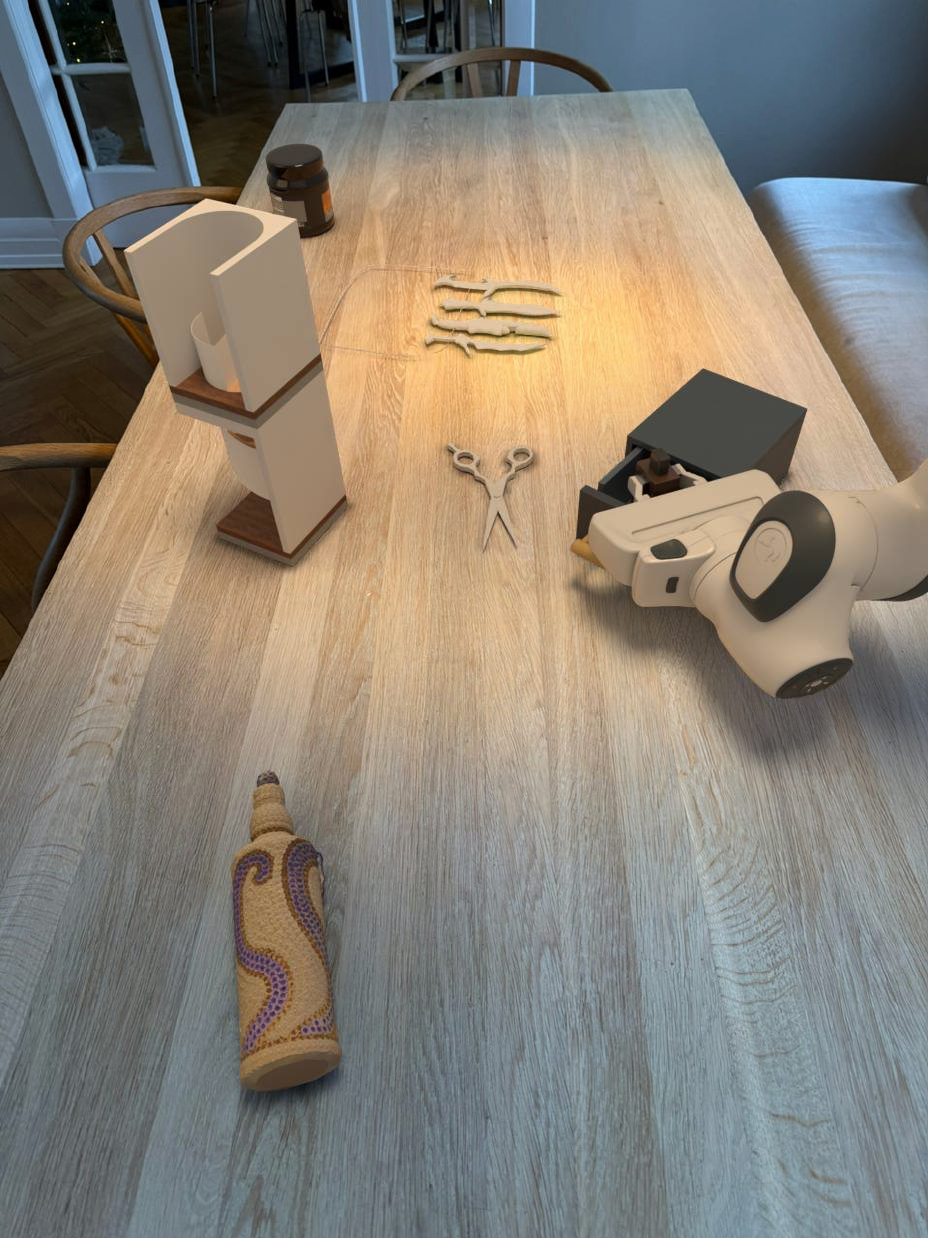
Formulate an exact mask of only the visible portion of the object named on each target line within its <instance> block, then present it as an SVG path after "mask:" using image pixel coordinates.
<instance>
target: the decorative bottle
mask: <svg viewBox="0 0 928 1238" xmlns="http://www.w3.org/2000/svg"><path fill="white" fill-rule="evenodd" d="M280 783H281V782H280V779H279V777H278V775H277V774H276V773H275V771H273V770H268V769H267V770H266V771H263V773H261V774H259V775H258V776H257V779H256V788H255V789H254V791H253V794H252V807H253V811H252V814H251V817H250V820H249V821H250V822H249V825H248V829H249V830H248V831H249V832H248V833H249V839H250V842H251V843H248V844H246V845H244V846H243V847H242V848H240V849H238V851H236V853H235V854H234V857H233V859H232V862H231V866H230V875H231V886H232V891H231V896H232V897H231V898H232V910H233V912H232V913H233V933H234V939H235V941H234V950H235V968H236V989H237V1001H238V1002H237V1003H238V1023H239V1024H238V1025H239V1026H238V1031H239V1050H240V1053H239V1059H240V1066H239V1070H238V1074H239V1075H238V1076H239V1080H240V1081H239V1084H240V1085H241V1086H243V1087H244V1088H246V1089H249V1090H252V1091H256V1092H258V1091H260V1092H271V1091H282V1090H289V1089H291V1088H293V1087H297V1086H300V1085H305V1084H307V1083H311V1082H314V1081H316V1080H318V1079H319V1078H322V1077H323V1076H325V1075H327V1074H329V1073H330V1072H332V1071H333V1070H335V1069H337V1067H338V1066H339V1065H340V1063H341V1061H342V1053H343V1051H342V1048H341V1045H340V1042H339V1039H340V1036H339V1029H338V1026H337V1023H336V1013H335V999H334V993H333V992H334V991H333V987H332V979H331V974H330V973H331V972H330V965H329V955H328V948H327V942H328V941H327V938H326V936H327V933H326V925H325V920H324V919H325V918H324V917H325V913H324V906H323V900H324V894H325V890H326V889H325V882H326V875H325V872H324V868H323V867H324V864H323V863H324V856H323V855H322V852H320V851H317V850H316V849H315V847H314V844H313V843H312V842H311V841H310V840H308V839H306V838H303V837H300V836H297V835H295V831H294V822H293V818H292V817H291V814H290V812H289V811H288V809H287V808H286V807H287V806H286V796H285V790H284V788H283V787H282V786H281V785H280ZM318 858H319V859H320V860H319V861H318ZM319 865H320V868H319Z"/></svg>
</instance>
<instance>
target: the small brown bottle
mask: <svg viewBox="0 0 928 1238" xmlns="http://www.w3.org/2000/svg"><path fill="white" fill-rule="evenodd" d="M670 460H671V458H670V457H669V456H668V454H667V453H666V452H665V451H664V450H663V448H662V447H661V448H657V449H653V450H652V451H651V457H650V458H649V459H645V460H641V461H638V462H637V466H636V472H635V475H639V474H643V475H644V478H646V479H647V480H648V482H649V485H648V488H647V490H648V491H647V495H648V496H649V497H650V498H653V497H657V496H660V495H664V494H667V493H671V492H675V491H678V486H679V481H680V476H679V475H678V474H677V473H676V471H675V470H674V469H673V468H672V467H671V465H670ZM631 503H634V497H633V495H632V498H631Z"/></svg>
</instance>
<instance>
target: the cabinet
mask: <svg viewBox="0 0 928 1238" xmlns="http://www.w3.org/2000/svg"><path fill="white" fill-rule="evenodd" d="M807 413H808V407H805V406H802V405H800V404H797V403H794V402H791V401H789V400H787V399H784V398H782V397H779V396H777V395H774V394H771V393H768V392H766V391H764V390H762V389H758V388H755V387H754V386H750V385H748V384H745V383H742V382H740V381H738V380H735V379H733V378H730V377H727V376H724V375H722V374H719V373H716V372H714V371H712V370H709V369H707V368H701V369H699V371H698V372H697V373H695V375H693V376H692V377H691V378H690V379H689V380H687V382H685V383H684V384H683V385H681V387H680V388H679V389H678V390H677V391H675V393H673V394H672V395H671V396H670V397H668V398H667V399H666V400H665V401H664V402H663V403H662V404H660V405H659V407H657V408H656V409H655V410H654V411H652V413H650V415H648V416H647V417H646V418H645V419H644V420H642V422H640V423H639V424H638V425H637V426H636V427H635V428H634V429H632V431H630V432H629V433H628V434H627V436H626V443H625V450H624V458H625V457H626V456H627V455H629V454H630V453H631V452H632V451H633V450H634V449H635V448H636V447H637V446H640V447H642V448H644V449H646V450H649V451H652V450H653V449H657V448H661V447H662V448H663V450H664V451H665V452H666V453H667V454H668V456H669V457H670V458H671V461H673V462H675V463H678V464H680V465H682V466H684V467H686V468H689V469H691V470H693V471H695V472H698V473H700V474H702V475H704V476H707V477H709V478H711V479H713V480H718V479H721V478H725V477H729V476H732V475H736V474H739V473H743V472H746V471H750V470H755V469H756V470H759V471H762V472H765V473H767V474H768V475H769V476H770V477H771V478H772V480H773V481H774V482H775V483H776V485H777V486H778V485H779V484H780V483H781V481H782V480H783V479H784V478H785V477H786V476H787V475H788V473H789V470H790V468H791V464H792V460H793V458H794V454H795V451H796V448H797V444H798V441H799V439H800V435H801V431H802V428H803V426H804V422H805V419H806V415H807Z"/></svg>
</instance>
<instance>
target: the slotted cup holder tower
mask: <svg viewBox="0 0 928 1238" xmlns="http://www.w3.org/2000/svg"><path fill="white" fill-rule="evenodd" d="M123 254H124V257H125V260H126V263H127V265H128V266H127V267H128V269H129V271H130V274H131V275H130V276H131V277H132V280H133V283H134V286H135V289H136V293H137V296H138V298H139V299H138V300H139V302H140V304H141V307H142V311H143V314H144V316H145V320H146V323H147V325H148V328H149V330H150V335H151V337H152V340H153V343H154V346H155V349H156V352H157V355H158V358H159V361H160V364H161V366H162V369H163V373H164V375H165V378H166V381H167V384H168V388H169V390H170V393H171V397H172V400H173V402H174V405H175V409H176V412H177V414H179V415H182V416H186V417H188V418H191V419H195V420H197V421H200V422H203V423H206V424H209V425H212V426H215V427H218V428H219V429H220V432H221V436H222V439H223V442H224V446H225V449H226V453H227V456H228V459H229V462H230V465H231V468H232V471H233V473H234V475H235V476H236V478H237V480H239V481H240V483H241V484H242V485H243V486H244V487H245V488H247V489H248V490H249V492H248V494H247V495H245V496H244V497H243V499H241V500H240V501H239V502H238V503H237V504H236V505H235V506H234V507H233V508H232V509H231V510H230V511H229V512H227V514H226V515H225V516H224V517H223V518H222V519H221V520H219V522H218V523H217V524H216V525H215V527H216V530H217V533H218V536H219V539H221V540H224V541H226V542H230V543H232V544H234V545H236V546H240V547H242V548H244V549H246V550H249V551H252V552H255V553H257V554H260V555H262V556H265V557H267V558H270V559H272V560H275V561H277V562H280V563H283V564H285V565H288V566H291V567H295V566H296V565H297V563H298V562H299V561H300V560H302V558H303V557H304V556H305V555H306V554H307V552H308V551H309V550H310V549H311V547H312V548H313V546H314V545H315V544H316V543H317V541H318V540H319V539H320V538H321V537H322V536H323V535H324V534H325V533H326V532H327V530H328V529H329V528H330V527H331V526H332V525H333V524H334V523H335V521H337V519H339V517H340V516H341V515H342V514H343V513H344V512H345V511H346V510H347V509H348V507H349V504H348V498H347V493H346V492H347V491H346V488H345V487H346V486H345V480H344V475H343V471H342V464H341V459H340V458H341V457H340V455H339V448H338V443H337V436H336V430H335V425H334V420H333V414H332V409H331V403H330V398H329V392H328V391H329V390H328V386H327V381H326V380H327V379H326V376H325V370H324V364H323V359H322V358H323V357H322V352H321V348H320V346H321V345H319V344H320V342H319V336H318V330H317V326H316V325H317V324H316V318H315V314H314V309H313V308H314V307H313V303H312V297H311V291H310V286H309V281H308V275H307V269H306V264H305V258H304V257H305V256H304V253H303V246H302V241H301V237H300V235H299V229H298V223H297V219H294V218H290V217H285V216H281V215H276V214H274V213H271V212H269V211H268V212H267V211H263V210H259V209H254V208H249V207H246V206H240V205H237V204H232V203H228V202H224V201H219V200H214V199H210V198H204V199H203V200H201V201H199V202H198V203H197V204H194V205H193V206H192V207H190V208H189V209H187V210H185V211H184V212H183V213H181V214H179V215H177V216H175V217H174V218H173V219H171V220H170V221H168V222H166V223H165V224H163V225H162V226H160V227H159V228H157V229H155V230H154V231H153V232H150V233H149V234H148V235H146V236H144V237H143V238H141V239H139V240H138V241H136V242H135V243H133V244H132V245H130V246H129V247H127V248H125V249H124V250H123Z"/></svg>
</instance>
